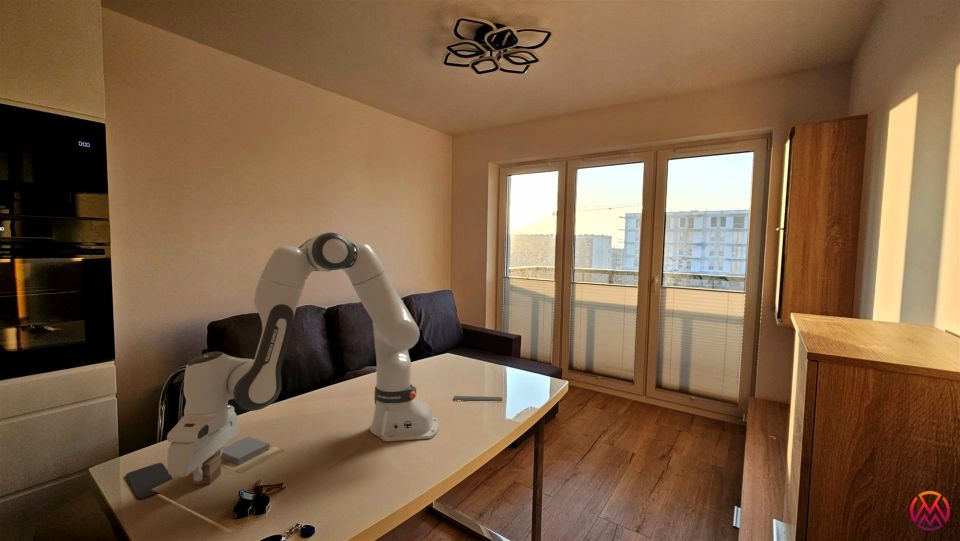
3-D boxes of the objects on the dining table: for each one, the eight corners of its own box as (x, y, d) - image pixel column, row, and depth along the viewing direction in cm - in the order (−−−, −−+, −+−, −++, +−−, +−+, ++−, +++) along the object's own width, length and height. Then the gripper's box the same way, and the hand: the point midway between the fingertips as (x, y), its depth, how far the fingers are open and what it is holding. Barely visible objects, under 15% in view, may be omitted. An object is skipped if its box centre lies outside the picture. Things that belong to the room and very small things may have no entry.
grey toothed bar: (502, 403, 152) (502, 399, 152) (453, 402, 151) (453, 398, 151) (501, 399, 156) (501, 395, 156) (453, 398, 155) (454, 394, 155)
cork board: (285, 451, 110) (285, 450, 110) (241, 475, 98) (241, 473, 98) (250, 439, 116) (250, 438, 116) (205, 460, 104) (205, 458, 104)
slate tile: (269, 443, 110) (248, 436, 113) (238, 458, 101) (217, 450, 105) (269, 450, 110) (248, 442, 113) (238, 465, 101) (217, 457, 105)
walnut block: (220, 474, 97) (220, 455, 97) (210, 484, 93) (209, 464, 93) (204, 474, 97) (204, 455, 97) (193, 484, 93) (193, 464, 93)
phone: (137, 500, 87) (124, 473, 96) (137, 503, 87) (124, 476, 96) (178, 485, 93) (161, 461, 102) (178, 488, 93) (161, 464, 102)
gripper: (221, 401, 105) (221, 450, 105) (160, 438, 84) (161, 498, 85) (244, 402, 105) (245, 450, 106) (189, 439, 84) (190, 499, 85)
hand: (207, 472), depth 95 cm, fingers closed on walnut block, 4 cm apart
